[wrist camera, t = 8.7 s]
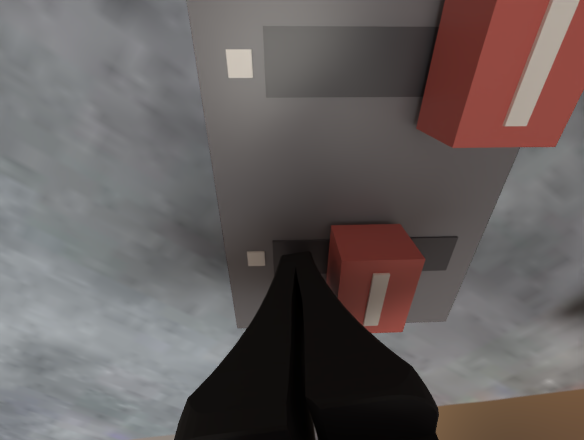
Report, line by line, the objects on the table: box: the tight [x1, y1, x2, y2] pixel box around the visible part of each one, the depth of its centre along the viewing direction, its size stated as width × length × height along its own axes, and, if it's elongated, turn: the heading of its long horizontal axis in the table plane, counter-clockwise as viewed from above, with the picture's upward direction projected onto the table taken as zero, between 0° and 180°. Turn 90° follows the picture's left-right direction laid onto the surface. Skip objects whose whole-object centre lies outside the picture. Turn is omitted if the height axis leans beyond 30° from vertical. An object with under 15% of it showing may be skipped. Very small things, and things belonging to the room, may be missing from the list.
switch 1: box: [326, 224, 425, 333], centre depth 12 cm, size 3×4×2 cm
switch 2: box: [416, 0, 584, 148], centre depth 8 cm, size 3×4×2 cm
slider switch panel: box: [186, 0, 520, 328], centre depth 10 cm, size 12×26×2 cm, turn 0°
